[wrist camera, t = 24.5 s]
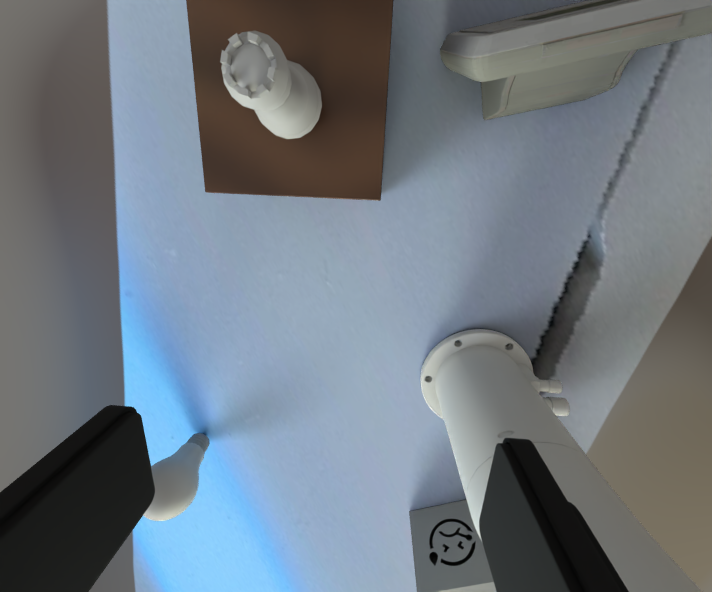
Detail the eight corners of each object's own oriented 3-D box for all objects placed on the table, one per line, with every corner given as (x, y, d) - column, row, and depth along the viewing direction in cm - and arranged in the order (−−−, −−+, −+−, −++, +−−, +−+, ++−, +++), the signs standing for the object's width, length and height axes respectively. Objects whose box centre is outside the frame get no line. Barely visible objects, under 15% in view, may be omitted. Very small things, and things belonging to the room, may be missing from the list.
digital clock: (642, -1, 27) (797, -107, 17) (612, 122, 30) (730, 92, 20) (441, 0, 28) (478, -102, 18) (431, 119, 31) (458, 90, 21)
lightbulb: (224, 458, 46) (179, 539, 35) (180, 449, 46) (122, 528, 35) (227, 422, 44) (180, 497, 33) (181, 413, 44) (120, 486, 33)
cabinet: (241, 22, 29) (180, -50, 20) (390, 25, 29) (396, -46, 20) (250, 189, 34) (205, 192, 25) (379, 195, 33) (380, 200, 24)
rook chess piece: (248, 79, 22) (182, 26, 15) (310, 55, 22) (275, -13, 14) (272, 148, 24) (223, 133, 16) (331, 128, 23) (310, 101, 15)
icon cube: (428, 559, 50) (441, 647, 40) (409, 511, 47) (417, 594, 37) (496, 547, 48) (525, 636, 39) (480, 496, 45) (507, 579, 36)
